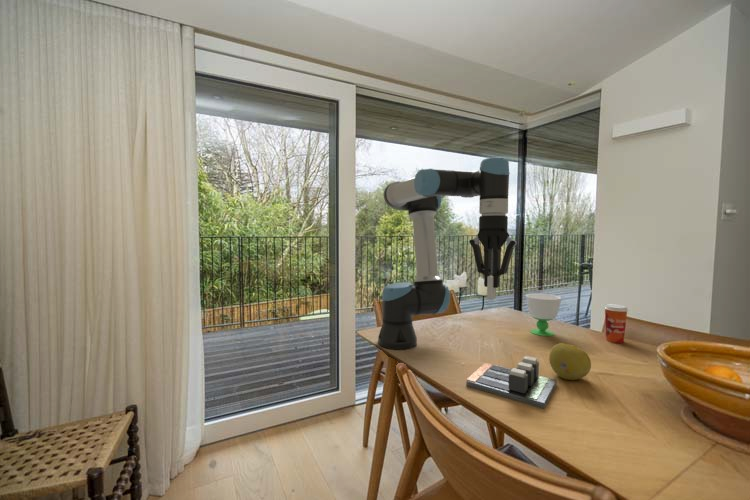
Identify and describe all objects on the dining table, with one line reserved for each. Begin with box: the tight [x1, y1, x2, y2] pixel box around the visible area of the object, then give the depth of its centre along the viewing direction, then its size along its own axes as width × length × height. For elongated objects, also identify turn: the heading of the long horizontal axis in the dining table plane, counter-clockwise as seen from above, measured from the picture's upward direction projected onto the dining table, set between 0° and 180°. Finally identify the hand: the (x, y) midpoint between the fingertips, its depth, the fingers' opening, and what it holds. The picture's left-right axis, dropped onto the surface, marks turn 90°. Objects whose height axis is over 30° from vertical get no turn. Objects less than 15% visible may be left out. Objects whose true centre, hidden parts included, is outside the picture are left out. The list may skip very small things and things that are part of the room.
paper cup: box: [604, 303, 629, 344], centre depth 131 cm, size 8×8×14 cm
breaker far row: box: [521, 355, 540, 379], centre depth 96 cm, size 4×3×5 cm
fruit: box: [548, 342, 592, 381], centre depth 99 cm, size 10×11×10 cm
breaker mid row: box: [515, 361, 534, 386], centre depth 92 cm, size 4×3×5 cm
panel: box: [465, 362, 557, 410], centre depth 94 cm, size 20×16×2 cm
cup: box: [525, 292, 562, 337], centre depth 142 cm, size 14×14×16 cm
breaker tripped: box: [508, 367, 528, 394], centre depth 88 cm, size 4×3×5 cm
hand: (491, 298), depth 94 cm, fingers closed
